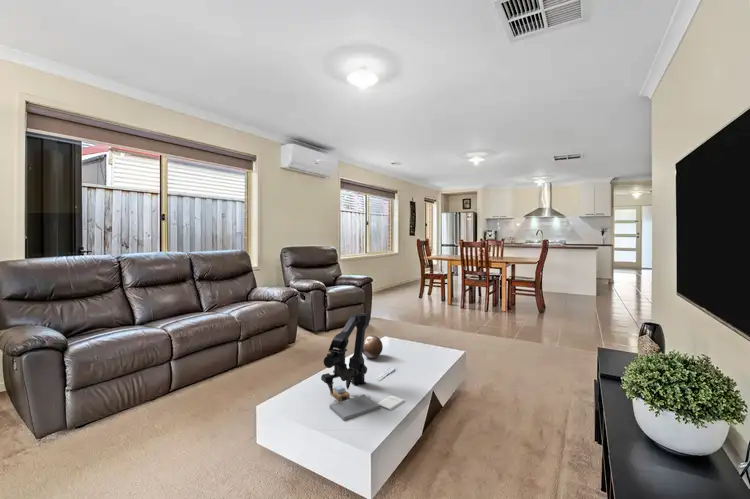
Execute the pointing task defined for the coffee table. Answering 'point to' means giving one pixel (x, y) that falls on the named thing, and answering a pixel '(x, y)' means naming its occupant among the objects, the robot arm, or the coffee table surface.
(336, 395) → the board
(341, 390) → the pale blue square block
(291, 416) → the coffee table surface
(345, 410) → the slate dock
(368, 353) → the wooden sphere
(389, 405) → the external hard drive
